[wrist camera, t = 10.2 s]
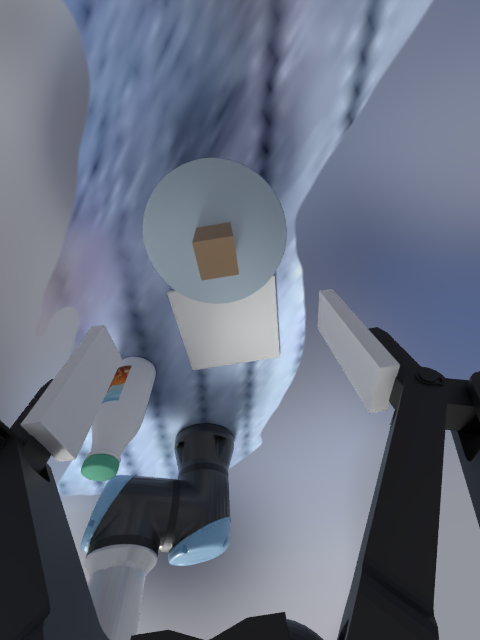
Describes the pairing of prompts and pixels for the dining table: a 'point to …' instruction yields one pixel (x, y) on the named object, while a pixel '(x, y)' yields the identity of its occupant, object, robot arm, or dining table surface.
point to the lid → (214, 230)
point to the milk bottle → (119, 417)
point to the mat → (228, 328)
